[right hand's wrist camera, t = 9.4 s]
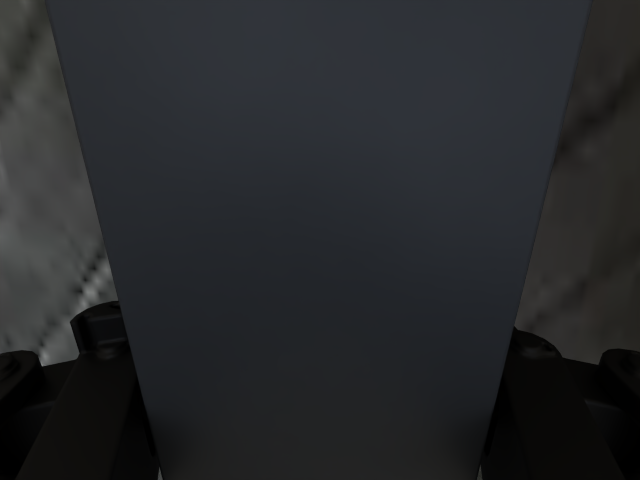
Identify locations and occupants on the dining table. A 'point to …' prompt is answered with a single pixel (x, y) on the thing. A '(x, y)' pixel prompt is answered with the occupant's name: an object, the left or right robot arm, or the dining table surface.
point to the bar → (319, 218)
